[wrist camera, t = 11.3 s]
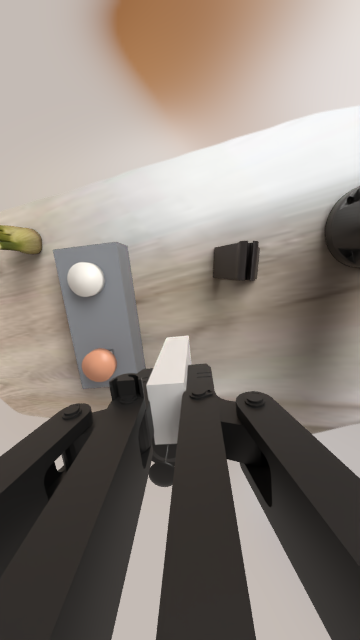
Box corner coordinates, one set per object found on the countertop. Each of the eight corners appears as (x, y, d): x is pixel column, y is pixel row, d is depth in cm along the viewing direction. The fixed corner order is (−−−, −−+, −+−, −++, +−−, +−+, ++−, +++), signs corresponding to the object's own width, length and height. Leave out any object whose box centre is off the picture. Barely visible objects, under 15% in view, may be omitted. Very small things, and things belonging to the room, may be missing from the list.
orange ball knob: (124, 337, 50) (110, 350, 41) (128, 362, 51) (115, 381, 42) (98, 339, 50) (78, 353, 42) (102, 364, 51) (85, 383, 43)
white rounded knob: (114, 262, 47) (97, 260, 39) (118, 290, 49) (103, 295, 40) (86, 265, 48) (64, 264, 40) (92, 293, 49) (71, 298, 41)
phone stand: (212, 277, 48) (218, 279, 36) (214, 247, 47) (221, 239, 35) (256, 278, 47) (276, 281, 36) (259, 248, 46) (281, 241, 34)
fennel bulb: (49, 253, 49) (3, 248, 37) (28, 259, 50) (-23, 255, 38) (39, 225, 48) (-11, 211, 36) (19, 231, 48) (-37, 219, 37)
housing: (127, 245, 48) (116, 241, 41) (145, 370, 53) (138, 384, 46) (72, 252, 49) (52, 249, 42) (96, 373, 54) (82, 388, 48)
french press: (152, 405, 55) (122, 497, 33) (155, 369, 53) (127, 442, 31) (200, 412, 55) (203, 511, 32) (206, 376, 53) (214, 455, 30)
